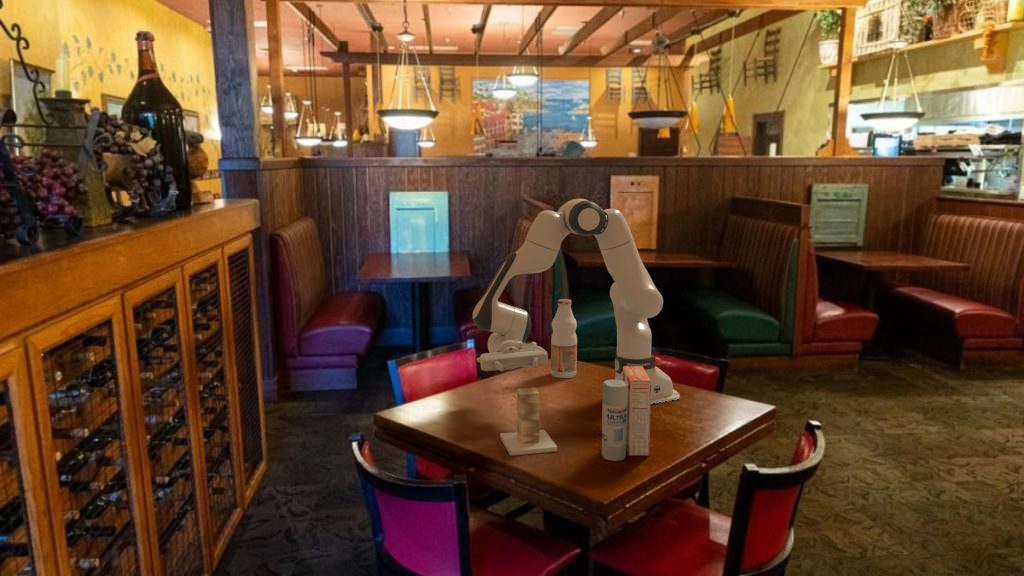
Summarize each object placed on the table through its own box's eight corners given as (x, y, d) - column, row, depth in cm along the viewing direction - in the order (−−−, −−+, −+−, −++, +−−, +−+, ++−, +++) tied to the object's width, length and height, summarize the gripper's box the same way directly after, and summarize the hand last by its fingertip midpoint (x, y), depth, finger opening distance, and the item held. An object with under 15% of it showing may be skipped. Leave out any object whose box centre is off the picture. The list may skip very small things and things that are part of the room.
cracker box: (620, 436, 200) (622, 365, 196) (641, 436, 200) (644, 365, 196) (626, 456, 186) (628, 380, 182) (649, 456, 186) (652, 380, 182)
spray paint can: (605, 461, 183) (606, 387, 179) (598, 452, 189) (599, 380, 186) (629, 460, 184) (631, 386, 180) (621, 450, 190) (623, 378, 187)
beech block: (534, 435, 197) (534, 387, 195) (539, 442, 192) (539, 393, 190) (517, 437, 196) (517, 388, 194) (521, 444, 191) (521, 394, 189)
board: (544, 433, 202) (544, 429, 202) (557, 451, 189) (557, 446, 189) (499, 437, 199) (499, 433, 199) (510, 455, 187) (510, 451, 186)
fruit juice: (546, 376, 257) (547, 301, 253) (557, 370, 266) (558, 297, 261) (570, 380, 253) (571, 303, 248) (580, 373, 261) (581, 299, 256)
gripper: (474, 347, 213) (483, 359, 200) (540, 341, 218) (552, 352, 204) (476, 368, 215) (484, 381, 201) (540, 361, 219) (553, 373, 206)
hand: (519, 366), depth 203 cm, fingers open, 8 cm apart
